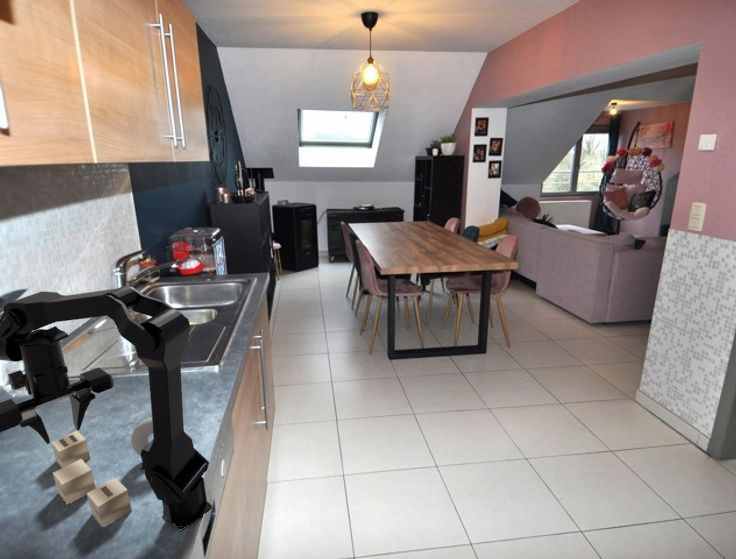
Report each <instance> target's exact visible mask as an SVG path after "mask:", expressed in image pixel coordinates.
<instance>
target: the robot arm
mask: <svg viewBox="0 0 736 559" xmlns="http://www.w3.org/2000/svg"><path fill="white" fill-rule="evenodd" d="M2 308H3V312H2V314H1V316H0V361H6V362H23V366H24V369H25V370H24V373H23V371H22V370H16V371H12V372H10V373H7V377H8V381H9V384H10V388H11V389H12V390H14V391H16V390H20V389H22V388H25V391H26V392H27V394H28V395H29V396H31V397H32V398H29V399H27V400H24V401H22V402H19V403H16V402H15V401H14V399H12V398H8V399H6V400H4V401H1V402H0V433H3V432H5V431H7V430H11V429H12V428H15V427H18V426H19V427H20V428H26V427H30V428H31V429H32V430H34V431H35V432H37V433H38V435H39V436H40V437H41V438H42V439H43V441H45V443H46V444H47V445H49V444H50V443H51V442H50V441H51V440H50V436H49V434H48V431H47V429H46V426H45V423H44V422H43V419H42V416H40V415H39V414H38V412H37V410H36V409H39V408H41V407H45V406H46V405H49V404H51V403H54V402H56V401H57V402H58V401H59V400H62V399H64V398H69V400H70V405H71V413H72V421H73V425H74V428H75V431H78V432H80V431H81V428H82V427H81V426H82V424H83V422H84V417H85V415H86V412H87V410H88V407H89V405H90V404H91V402H92V400H95V399H96V394H100V393H103V392H106V391H108V390H111V389H113V388H114V387H115V383H114V379H113V376H112V375H111V374H110V373H108V372H107V371H106V370H105V369H103V368H101V367H96V368H94V369H90V370H87V371H84V372H81V373H79V377H78V378H79V379H78V380H75V381H72V382H70V379H69V375H68V374H69V369H68V366H66V363H65V362H66V361H65V358H64V354H63V349H62V345H61V341H63V340H65V339H67V338H69V333H67V331H65V330H62V329H60V328H58V326H53V327H51V328H48V329H45V328H44V327H47V326H50V325H52V324H54V323H59V322H67V321H75V320H82V319H83V320H84V319H92V318H100V317H101V318H102V317H108V318H109V319H111V320H112V321H113V323H114V324H115V326H116V329H117V331H118V333H119V335H120V336H121V337H122V338H123V339H125V340H126V341H127V342H129V343H130V344H131V345H133V346H134V347H135V352H136V356H137V358H138V359H139V360H140V361H141V363H143V364H144V365H145V366H146V367H147V370H148V381H149V383H148V384H149V394H150V396H149V397H150V409H151V417H152V424H153V433H152V434H153V435H152V436H153V438H152V439H151V440H150V441H151V442H150V443H148V444H147V445H146V446H145V447H144V448H143V449H142V450H141V456H140V458H141V461H142V462H141V463H142V465H141V468H140V470H141V471H144V476H145V478H146V480H147V482H148V484H149V487H150V488H151V489H152V491H153V493H154V494H155V497H156V498H157V500H159V501H161V502H162V510H163V511H162V513H163V515H164V518H165V519H166V520H167V522H169V523H170V524H171V525H174V524H175V525H176V526H177V527H178V528H179V529H183V528H184V527H186V526H187V525H188V526H190V525H192V523H194V522H195V521H197V520H199V518H201V517H202V516H204V515H205V514H207V513H208V512H209V511H211V510H212V509H213V505H212V504H211V503H210V502H209V501H208V499H207V493H206V485H205V479H204V477H203V475H204V474H205V473H206V472H207V471H208V469H209V465H210V462H209V460H207V458H205V457H204V456H203V455H202V454H201V453H200V451H198V450H197V449H196V448H195V447H194V443H193V442H194V441H193V439H192V437H191V436H190V435H188V433H187V432H186V431H185V429H184V410H183V409H184V408H183V390H182V389H183V388H182V370H181V369H182V368H181V366H182V365H181V362H182V359H183V357H184V354H185V352H186V350H187V348H188V345H189V338H190V332H191V324H190V321H189V318H188V317H186V316H185V315H184V314H183V313H182V312H180V311H179V310H177V309H175V308H174V307H172V306H171V305H170V304H168V302H166V301H164V300H161V299H158V298H156V297H152V296H149V295H146V294H143V293H142V292H140V291H139V290H138V289H136V288H135V287H133V286H131V285H130V286H127V285H125V286H124V285H121V286H120V287H118V288H112V289H103V290H97V291H90V292H84V293H83V292H82V293H81V292H80V293H76V294H75V293H73V294H66V295H63V294H60V293H59V292H57V291H56V292H55V291H39V292H35V293H33V294H29V295H27V296H24V297H21V298H19V299H16V300H13V301H10V302H6V303H5V304H4V305H3V307H2ZM131 310H132V311H133V312H135V313H138V314H141V315H145V316H148V317H150V318H147V319H146V320H144V321H142V322H141V323H139V322H137V321H136V320H135V319H133V318H132V316H131V314H130V312H129V311H131ZM175 525H174V526H175ZM176 526H175V527H176ZM180 526H182V527H180ZM188 526H187V527H188ZM177 527H176V528H177ZM187 527H186V528H187ZM178 528H177V529H178ZM179 529H178V530H179ZM184 529H185V528H184ZM184 529H183V530H184Z"/></svg>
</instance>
